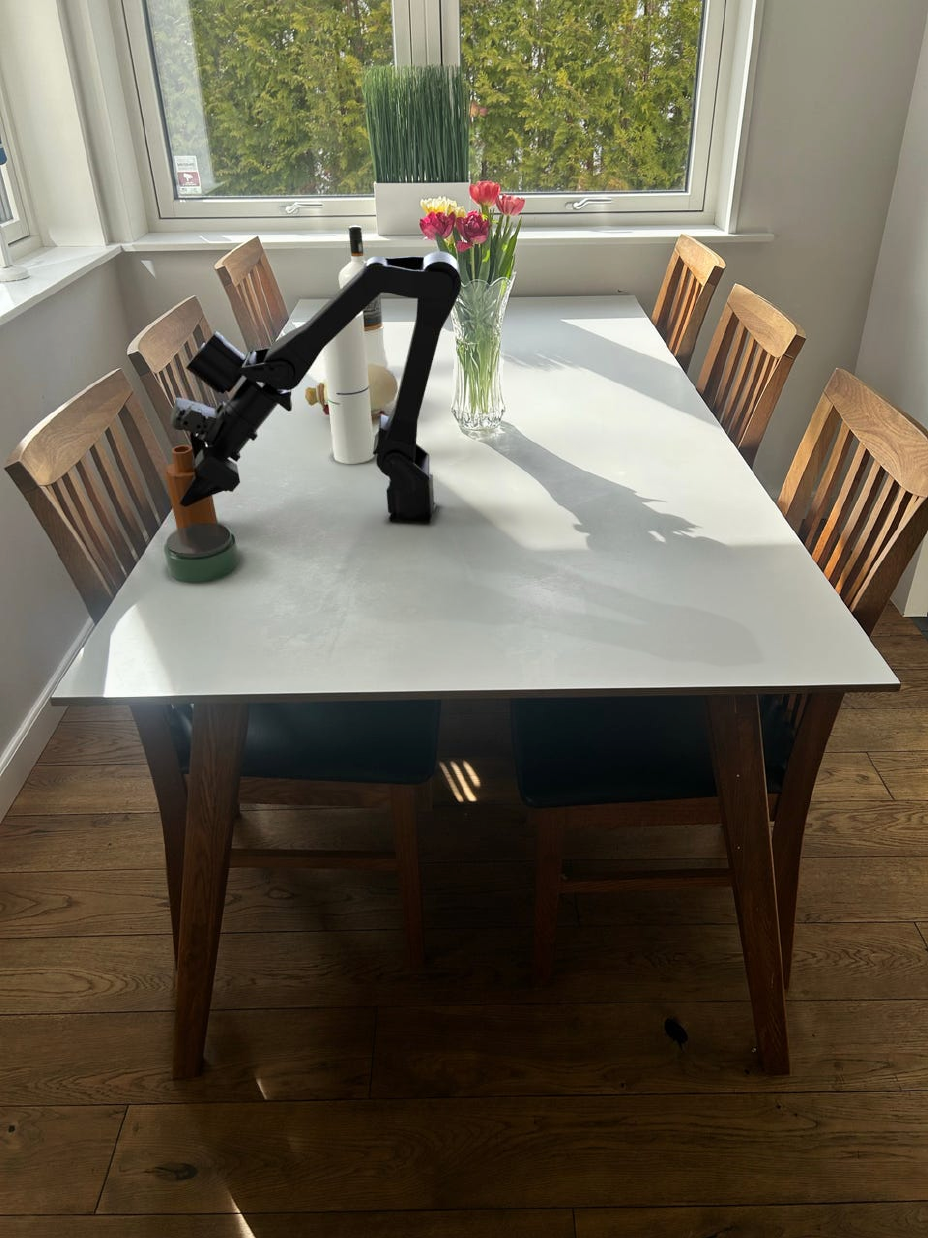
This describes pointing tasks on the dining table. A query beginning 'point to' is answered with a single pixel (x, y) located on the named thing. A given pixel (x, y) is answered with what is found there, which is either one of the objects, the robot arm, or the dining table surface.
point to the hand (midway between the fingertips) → (181, 492)
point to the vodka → (373, 310)
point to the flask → (379, 389)
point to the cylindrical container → (349, 394)
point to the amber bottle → (178, 482)
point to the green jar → (201, 553)
